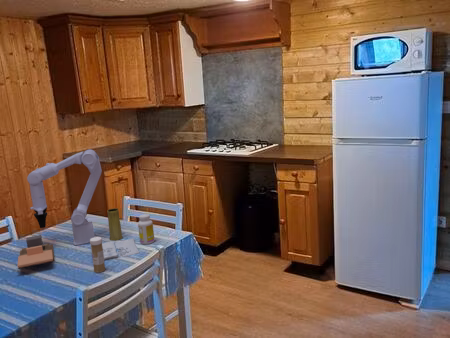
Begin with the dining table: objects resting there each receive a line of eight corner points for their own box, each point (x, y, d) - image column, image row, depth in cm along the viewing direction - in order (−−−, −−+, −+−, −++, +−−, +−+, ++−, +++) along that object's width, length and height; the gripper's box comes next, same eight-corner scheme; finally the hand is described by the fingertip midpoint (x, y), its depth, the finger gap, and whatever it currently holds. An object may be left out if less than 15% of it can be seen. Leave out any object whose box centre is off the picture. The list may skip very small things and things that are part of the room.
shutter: (52, 251, 181) (50, 243, 181) (53, 260, 172) (51, 252, 171) (18, 257, 176) (17, 249, 176) (17, 267, 167) (16, 259, 166)
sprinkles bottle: (91, 271, 168) (87, 239, 165) (101, 267, 171) (97, 235, 169) (98, 274, 165) (93, 241, 162) (108, 269, 168) (104, 237, 166)
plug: (43, 251, 189) (41, 234, 188) (44, 254, 186) (41, 237, 184) (29, 254, 187) (26, 237, 185) (29, 257, 183) (26, 240, 182)
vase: (125, 236, 204) (121, 208, 201) (118, 241, 199) (114, 212, 196) (114, 235, 206) (110, 207, 203) (107, 240, 201) (103, 211, 198)
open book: (90, 248, 194) (90, 243, 193) (135, 240, 200) (135, 236, 200) (92, 264, 176) (91, 259, 176) (141, 255, 182) (140, 250, 182)
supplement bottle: (156, 239, 198) (153, 213, 196) (152, 244, 192) (149, 217, 189) (142, 239, 199) (139, 213, 196) (138, 245, 193) (135, 218, 190)
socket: (53, 245, 198) (52, 239, 197) (54, 261, 180) (53, 253, 179) (20, 252, 193) (19, 245, 192) (18, 268, 175) (17, 261, 174)
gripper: (29, 194, 198) (33, 222, 201) (28, 202, 185) (33, 231, 188) (45, 192, 201) (49, 219, 203) (45, 199, 188) (50, 228, 190)
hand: (42, 225), depth 196 cm, fingers open, 7 cm apart
